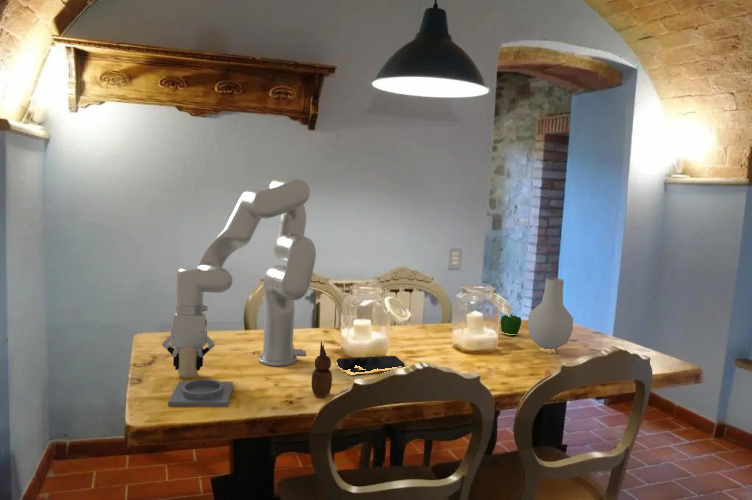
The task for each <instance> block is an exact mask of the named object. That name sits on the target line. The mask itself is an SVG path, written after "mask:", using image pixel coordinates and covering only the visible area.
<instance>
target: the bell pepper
mask: <svg viewBox="0 0 752 500" xmlns="http://www.w3.org/2000/svg"><path fill="white" fill-rule="evenodd" d="M506 315H507V314H504V315H501V318H500V329H501V333H502V332H504V333H508V334H517V333H518V334H519V331H520V329H521V325H522V318H521V317H519V316H516V315H513V312H512V314H511V316H510V315H509V316H510V317H508V316H506ZM518 334H517V335H518Z"/></svg>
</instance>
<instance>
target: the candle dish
mask: <svg viewBox="0 0 752 500" xmlns="http://www.w3.org/2000/svg"><path fill="white" fill-rule="evenodd" d="M233 388H234V381H220V380H215V379H209V378H208V379H207V378H206V379H205V378H203V379H202V378H201V379H200V378H199V379H198V378H197V379H194V380H189V381H178V383H177V385H176V387H175V388H174V390H173V393H172V394H171V396H170V397H169V399H168V402H167V406H168V407H169V406H171V407H172V406H174V407H175V406H176V407H179V406H180V405H181V406H182V407H185V405H186V407H188V406H189V407H228V405H229V402H230V398H231V395H232V390H233ZM183 405H184V406H183ZM181 406H180V407H181Z"/></svg>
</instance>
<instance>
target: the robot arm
mask: <svg viewBox="0 0 752 500" xmlns="http://www.w3.org/2000/svg"><path fill="white" fill-rule="evenodd" d="M268 186H269V187H268V189H267V188H266V189H259V188H249V189H247V190H244V192H242V194H241V196H240V197H239V199H238V201H237V203H236V205H235V206H234V209H233V211H232V213H231V215H230V217H229V218H228V220H227V223H226V225H225V227H223V230H222V231H221V232H220V233H219V234H218V235H217V237H216V238H215V239H214V240H212V242H210V244H209V246H207V248H206V249H205V251H204V252H203V254H202V257H201V259H200V260H199V262H198V265H197V267H194V266H192V267H190V266H186V267H181V268H179V269H178V270H177V272H176V297H175V298H176V299H175V300H176V302H175V303H176V308H175V312H174V313H173V316H172V322H171V326H170V327H171V329H170V335H169V336H168V337H166V339H165V340H164V341H162V343H161V346H162V347H163V348H164V349H165V350H167V351H168V352H169V354H170V355H171V356H172V358H173V363H172V365H173V367H175V368H174V370H175V371H178V366H179V348H182V347H191V348H196V349H197V352H198V357H197V370H198V371H200V370H201V368H202V367H203V366H204V356H206V354H207V353H208V352H209V351H211V350H212V349H214V347H215V346H216V343H215V342H214V341H213V340H212V339H211V337H210V336H209V334H208V321H207V320H208V319H207V315H206V313H205V311H207V312H208V310H209V306H208V305H205V304H204V293H215V294H220V293H224V292H227V291H228V290H229V289H230V288H231V287H232V285H233V276H232V274H231V272H230V271H229V270H227V269H225V268H223V266H224V264H225V263H226V261H227V259H228V258H229V257H230V256H231V255H232V254H233V253H235V252H236V251H238V250H239V249H242V248H243V247H245V246H247V245H248V244H249V243H250V241H251V239H252V238H253V236H254V234H255V232H256V230H257V227H258V225H259V224H260V222H261V219H272V218H274V217H278V216H279V223H278V227H277V234H276V237H275V242H274V248H273V253H274V256H275V258H277V259H278V260H280V261H282V262H285V263H286V265H281V264H277V265H276V264H275V265H273V266H271V267H269V268H268V269H267V270H266V272H265V273H264V276H263V291H264V292H263V293H264V321H263V322H264V323H263V325H264V327H263V347H262V348H263V351H262V353H260V354H259V355H258V357H257V358H258V359H257V360H258V361H257V362H259V363H261V364H262V365H266V366H272V367H282V366H283V367H284V366H290V365H293V364H294V363H296V362H297V359H298V357H307V350H303V348H299V349H298V348H297V349H296V347H294V346H295V345H294V327H295V326H294V324H295V323H294V322H295V301H298V300H301V299H303V298H304V297H305V296H306V294H307V293H308V292H309V289H310V285H311V280H312V276H313V272H314V267H315V263H316V257H317V254H316V253H317V251H316V246H315V243H314V242H313V241H312V239H311V238H309V237H308V236H305V232H306V231H305V230H306V224H307V211H306V206H305V205H304V204H306V203H307V202H308V200H309V199H310V196H311V188H310V186H309V184H308V183H307V181H305V180H303V179H300V178H297V177H296V178H294V177H286V176H282V177H275V178H274V179H273V180H271V182H269V185H268ZM169 343H170V344H169ZM206 344H207V346H206ZM205 346H206V347H205ZM204 347H205V348H204Z"/></svg>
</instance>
